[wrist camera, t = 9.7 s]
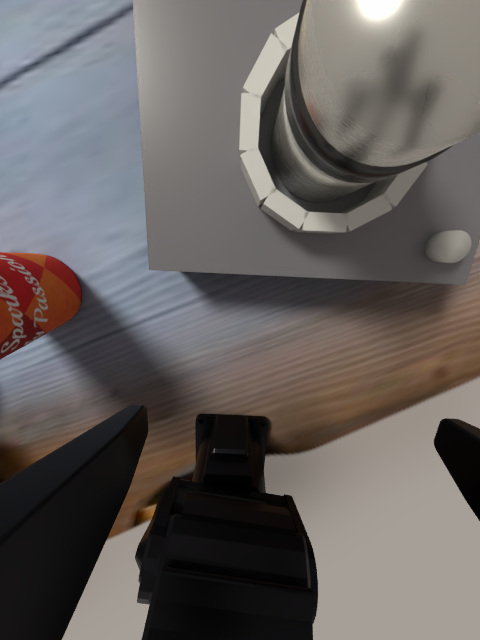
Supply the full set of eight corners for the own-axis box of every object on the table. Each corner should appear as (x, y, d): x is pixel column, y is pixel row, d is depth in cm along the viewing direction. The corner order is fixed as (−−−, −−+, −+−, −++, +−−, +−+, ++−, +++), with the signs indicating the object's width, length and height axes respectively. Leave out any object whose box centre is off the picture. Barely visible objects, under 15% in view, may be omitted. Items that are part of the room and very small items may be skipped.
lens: (368, 207, 13) (540, 157, 6) (265, 202, 13) (294, 147, 6) (390, 79, 12) (675, -238, 4) (273, 75, 12) (330, -250, 4)
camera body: (409, 274, 19) (499, 291, 12) (172, 262, 19) (134, 274, 12) (462, 58, 15) (632, -86, 9) (165, 43, 15) (104, -113, 9)
